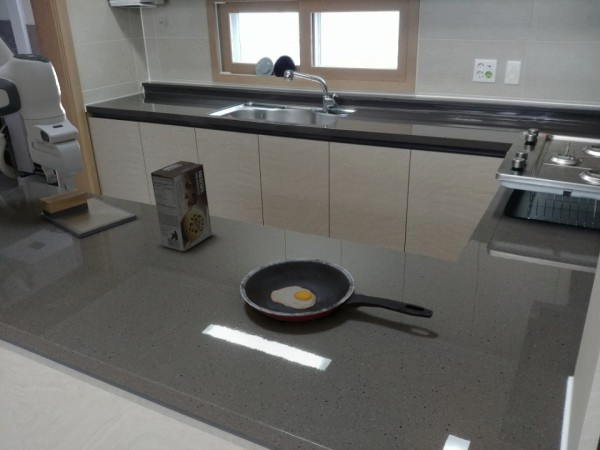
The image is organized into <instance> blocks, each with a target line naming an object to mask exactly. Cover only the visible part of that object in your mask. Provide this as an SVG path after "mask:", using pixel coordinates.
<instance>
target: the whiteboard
mask: <svg viewBox="0 0 600 450" xmlns="http://www.w3.org/2000/svg"><path fill="white" fill-rule="evenodd" d="M86 199H87V203H88V208H87V209H84V210H81V211H77V212H74V213H71V214H68V215H64V216H61V217H58V218H55V219H51V218H49V217H47V216H45V215H44V214H43V212H40V215H41V216H40V217H41V218H42V219H45V220H46V221H48V222H50V223H51V224H54V225H55V226H57V227H59V228H61V229H63V230H65V231H67V232H68V233H70V234H72V235H73V236H76V238H79V239H82V238H85V237H87V236H91V235H94V234H96V233H100V232H102V231H105V230H108V229H111V228H114V227H117V226H119V225H122V224H123V225H124V224H126V223H128V222H131V221H133V220H134V221H135V220H137V215H136V213H134V212H130V211H128V210H126V209H123V208H122V207H119V206H116V205H114V204H112V203H109V202H108V201H105V200H102V199H100V198H98V197H95V196H93V197H91V198H86Z"/></svg>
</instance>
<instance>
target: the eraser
mask: <svg viewBox="0 0 600 450" xmlns="http://www.w3.org/2000/svg"><path fill="white" fill-rule="evenodd" d="M87 199H88V198H87V195H86V192H85V191H83V190H80V189H78V188H75V189H74V190H71V191H68V190H66V191H63V192H58V193H56V194H52V195H51V194H50V195H48V196H45V197H40V198H39V203H40V206H41V211H42V213H43V214H44V215H45V216H47V217H49V218H51V219H55V218H58V217H61V216H64V215H68V214H71V213H74V212H77V211H81V210H84V209H87V208H88V203H87Z"/></svg>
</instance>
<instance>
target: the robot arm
mask: <svg viewBox="0 0 600 450" xmlns="http://www.w3.org/2000/svg"><path fill="white" fill-rule="evenodd" d="M66 113H67V112H66V110H65V108H64V106H63V104H62V91H61V85H60V83H59V80H58V76H57V73H56V69H55V67H54V65H53V63H52V61H51V60H50V59H49V58H47V57H46V56H44V55H40V54H34V53H16V51H14V50H13V48H12V46H11V45H9V43H8V42H7V40H6V39H5V38H4V37H3V35H2V34H1V33H0V118H5V117H8V116H11V115H15V114H21V116H22V118H23V121H24V122H23V123H24V127H25V131H26V135H27V136H26V137H27V145H28V149H29V154H30V158H31V160H32V162H33V163H35V164H37V165H40V166H41V169H42V171H43V173H44V175H45V177H46V180H47V182H48V183H50V184H54V183H57V182H58V178H57V174H55V172H58V173H61V174H62V176H63V178H64V182H63V187H64V189H65V190H66V191H71V190H74V189H76V185H75V180H76V175H78V174H80V173H82V172H83V169H84V163H83V158H82V151H81V147H80V144H79V141H78V140H77V139H79V138H80V134H79V130H78V128H77V127H76V126H74V125H73V124H72V122H70V120H69V119H68V117H67V114H66ZM54 171H55V172H54Z"/></svg>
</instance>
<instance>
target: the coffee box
mask: <svg viewBox="0 0 600 450" xmlns="http://www.w3.org/2000/svg"><path fill="white" fill-rule="evenodd" d="M150 177H151V178H150V179H151V183H152V189H153V195H154V202H155V207H156V213H157V220H158V226H159V232H160V239H161V244H162V247H165V248H169V249H173V250H177V251H180V252H186V251H187V250H189V249H191V248H193V247H195V246H196V245H197V244H199V243H201V242H203V241H204V240H206V239H207V238H209V237H211V236H212V235H213V231H212V223H211V216H210V208H209V199H208V193H207V192H208V191H207V184H206V177H205V169H204V164H202V163H196V162H193V161H187V160H186V161H185V160H179V161H176V162H174V163H172V164H169V165H167V166H164V167H162V168H159V169H156V170H154V171H152V172H150Z"/></svg>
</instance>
